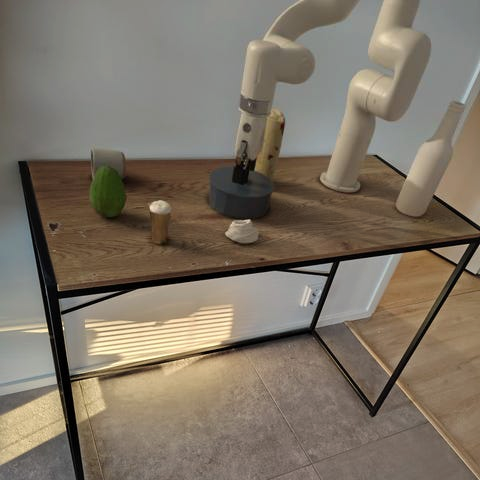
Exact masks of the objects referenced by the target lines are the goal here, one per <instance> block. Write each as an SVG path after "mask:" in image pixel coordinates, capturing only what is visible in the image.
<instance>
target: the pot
mask: <svg viewBox="0 0 480 480" xmlns="http://www.w3.org/2000/svg"><path fill="white" fill-rule="evenodd" d="M209 183H210V184H209V192H208V202H209V205H210V206H211V208H213V209H214V210H215V211H216V212H218V213H220V214H222V215H224V216H227V217H230V218H233V219H240V220H253V219H257V218H260V217H262V216H265V215H266V213H267V212H268V210H269V207H270V203H271V199H272V194H270V195H269V196H266V197H263V198H257V199H247V198H240V197H235V196H231V195H228V194H226V193H223V192H221V191H220V190H218V189H216V188H215V187H214V186H213V185H212V184H211V182H210V181H209Z"/></svg>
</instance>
